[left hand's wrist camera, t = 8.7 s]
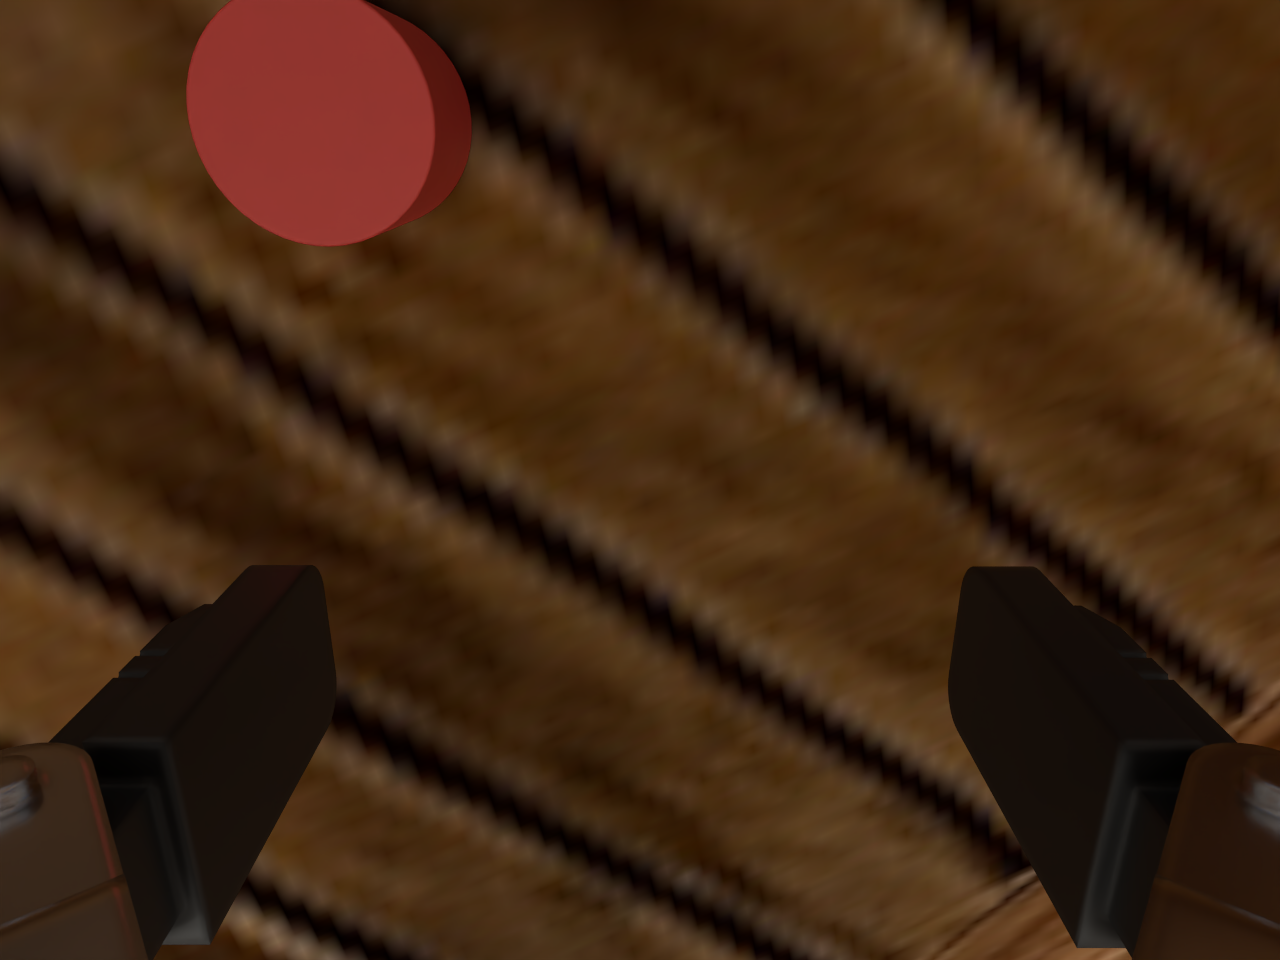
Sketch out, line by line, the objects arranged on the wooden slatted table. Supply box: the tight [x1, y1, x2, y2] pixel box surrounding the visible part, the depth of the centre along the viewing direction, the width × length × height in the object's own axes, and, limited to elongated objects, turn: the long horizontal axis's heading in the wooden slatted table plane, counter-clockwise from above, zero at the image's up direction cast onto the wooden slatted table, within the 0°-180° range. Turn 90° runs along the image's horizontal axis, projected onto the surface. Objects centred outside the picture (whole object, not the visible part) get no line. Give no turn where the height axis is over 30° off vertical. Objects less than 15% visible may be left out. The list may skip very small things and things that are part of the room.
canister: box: [187, 0, 472, 247], centre depth 20 cm, size 5×5×4 cm
